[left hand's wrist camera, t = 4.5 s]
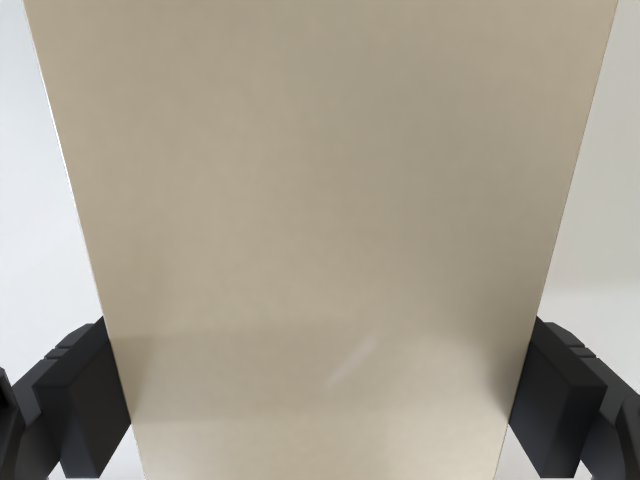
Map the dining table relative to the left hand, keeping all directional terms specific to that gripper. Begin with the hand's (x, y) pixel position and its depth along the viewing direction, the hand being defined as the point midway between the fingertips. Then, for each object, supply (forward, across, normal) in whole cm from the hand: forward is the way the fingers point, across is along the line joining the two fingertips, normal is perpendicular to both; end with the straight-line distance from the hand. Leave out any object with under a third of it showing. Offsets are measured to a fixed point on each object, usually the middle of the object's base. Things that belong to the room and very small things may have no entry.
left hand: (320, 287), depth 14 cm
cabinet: (+6, 0, -6) cm, 8 cm away
